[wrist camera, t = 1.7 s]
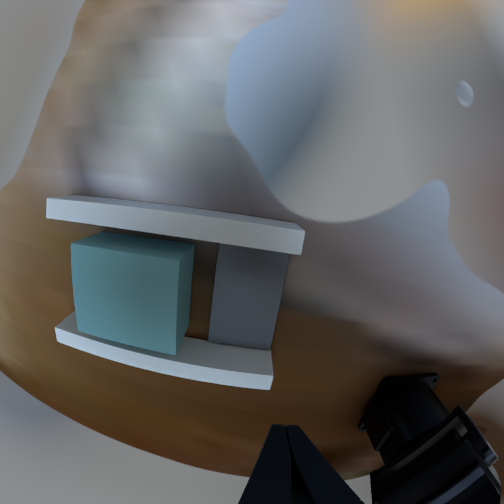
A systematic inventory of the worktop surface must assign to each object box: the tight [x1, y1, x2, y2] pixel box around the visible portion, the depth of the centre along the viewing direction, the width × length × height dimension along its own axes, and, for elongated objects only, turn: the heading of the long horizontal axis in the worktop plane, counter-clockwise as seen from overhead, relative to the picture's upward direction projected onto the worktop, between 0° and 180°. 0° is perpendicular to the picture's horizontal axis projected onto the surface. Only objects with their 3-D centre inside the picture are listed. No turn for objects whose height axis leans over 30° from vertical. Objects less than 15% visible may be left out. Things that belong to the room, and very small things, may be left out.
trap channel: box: [46, 195, 305, 390], centre depth 16 cm, size 15×10×3 cm, turn 81°
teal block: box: [71, 232, 195, 355], centre depth 15 cm, size 6×6×4 cm
